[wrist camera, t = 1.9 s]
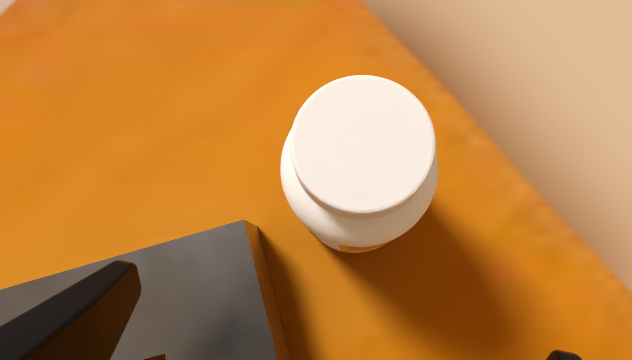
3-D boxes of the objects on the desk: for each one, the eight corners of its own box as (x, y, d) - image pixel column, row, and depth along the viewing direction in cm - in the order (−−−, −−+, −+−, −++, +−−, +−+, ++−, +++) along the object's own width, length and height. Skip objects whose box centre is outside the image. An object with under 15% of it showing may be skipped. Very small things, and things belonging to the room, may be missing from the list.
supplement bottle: (425, 173, 21) (495, 92, 11) (381, 272, 20) (417, 277, 10) (327, 131, 21) (315, 22, 12) (282, 224, 21) (229, 188, 11)
